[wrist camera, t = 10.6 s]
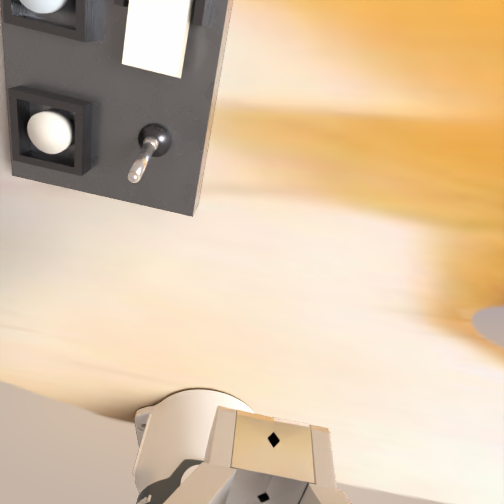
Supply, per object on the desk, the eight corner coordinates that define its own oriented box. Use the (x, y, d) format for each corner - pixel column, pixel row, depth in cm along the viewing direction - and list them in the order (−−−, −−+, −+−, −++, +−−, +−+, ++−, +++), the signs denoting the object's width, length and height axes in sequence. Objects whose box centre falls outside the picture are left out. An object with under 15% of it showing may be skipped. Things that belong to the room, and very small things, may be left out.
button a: (74, 154, 34) (67, 158, 33) (35, 144, 34) (28, 148, 33) (74, 115, 33) (68, 118, 32) (34, 105, 33) (26, 108, 32)
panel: (198, 203, 40) (186, 230, 34) (30, 165, 39) (-8, 186, 34) (246, -82, 29) (239, -105, 24) (16, -143, 28) (-42, -180, 23)
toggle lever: (160, 147, 34) (140, 188, 30) (145, 144, 34) (124, 184, 30) (160, 135, 33) (140, 175, 29) (145, 131, 33) (123, 172, 29)
